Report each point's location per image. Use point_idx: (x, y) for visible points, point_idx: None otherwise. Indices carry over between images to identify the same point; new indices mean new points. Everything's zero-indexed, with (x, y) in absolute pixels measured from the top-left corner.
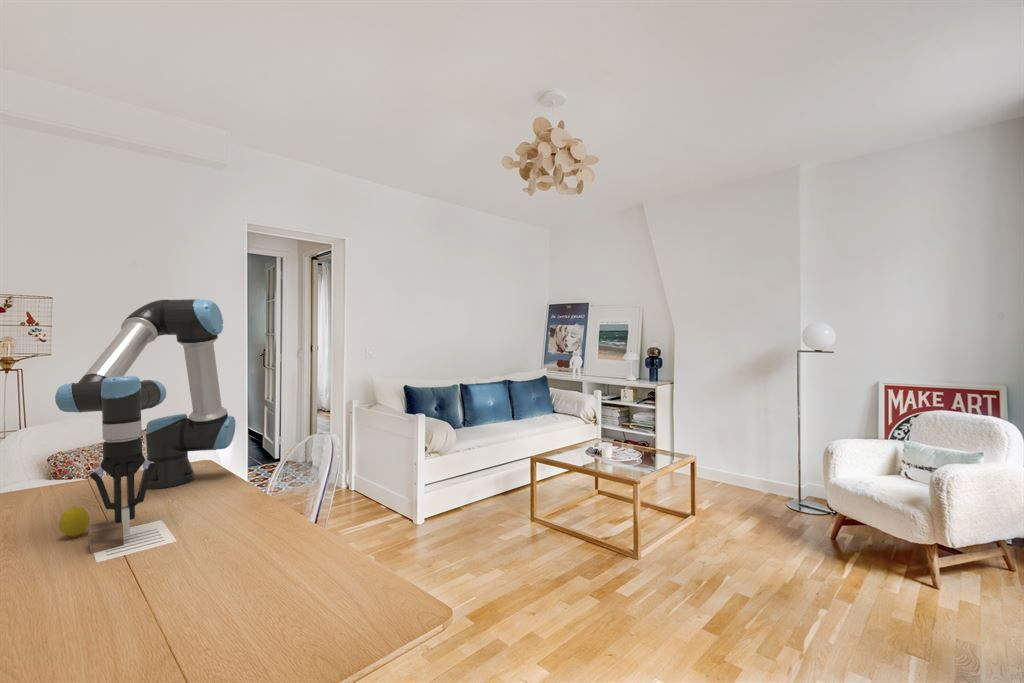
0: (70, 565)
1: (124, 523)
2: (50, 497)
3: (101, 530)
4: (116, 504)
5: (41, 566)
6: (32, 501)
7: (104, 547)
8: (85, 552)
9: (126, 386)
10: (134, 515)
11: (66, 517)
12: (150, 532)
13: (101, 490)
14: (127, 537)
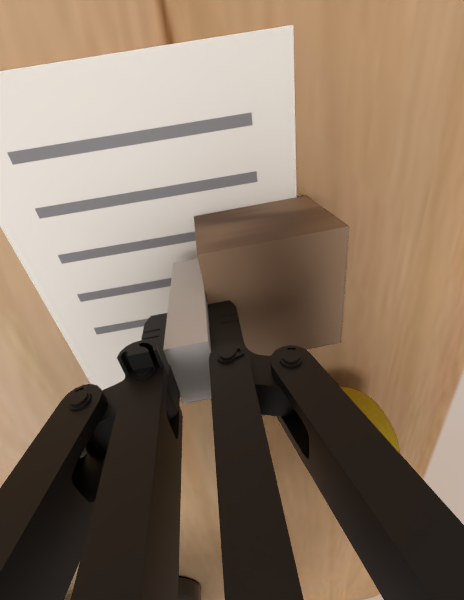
0: (380, 102)
1: (192, 288)
2: (338, 577)
3: (296, 233)
4: (243, 374)
5: (450, 180)
6: (362, 570)
7: (263, 207)
8: None
9: None
10: (145, 329)
11: (391, 441)
12: (113, 309)
13: (433, 521)
14: None
